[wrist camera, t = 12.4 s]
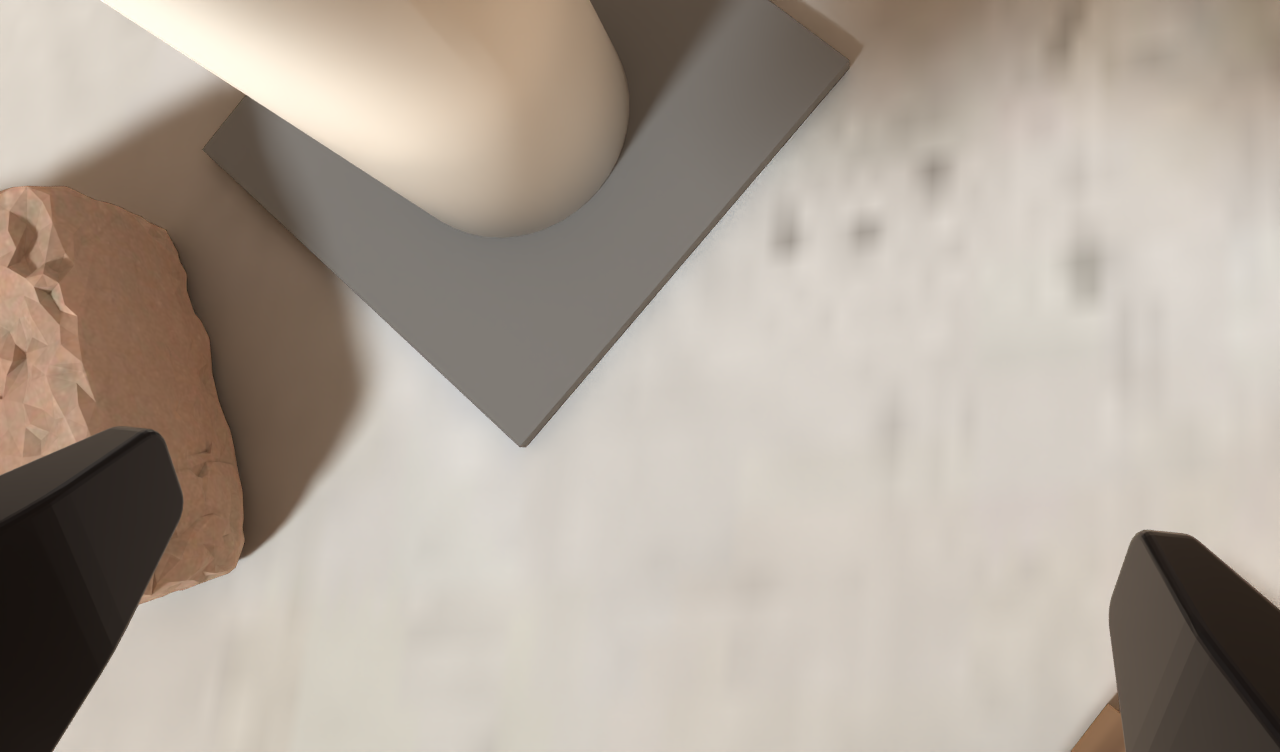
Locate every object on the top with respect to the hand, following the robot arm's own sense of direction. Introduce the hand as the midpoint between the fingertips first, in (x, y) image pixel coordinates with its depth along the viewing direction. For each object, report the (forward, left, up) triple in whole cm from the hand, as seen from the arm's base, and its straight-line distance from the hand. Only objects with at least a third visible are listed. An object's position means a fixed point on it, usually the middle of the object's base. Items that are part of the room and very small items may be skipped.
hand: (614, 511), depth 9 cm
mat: (+3, +9, -11) cm, 14 cm away
